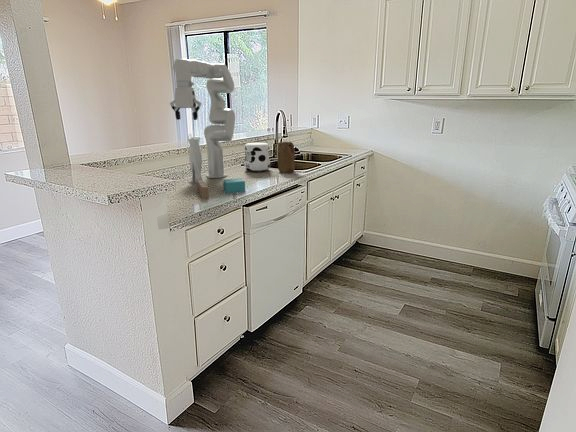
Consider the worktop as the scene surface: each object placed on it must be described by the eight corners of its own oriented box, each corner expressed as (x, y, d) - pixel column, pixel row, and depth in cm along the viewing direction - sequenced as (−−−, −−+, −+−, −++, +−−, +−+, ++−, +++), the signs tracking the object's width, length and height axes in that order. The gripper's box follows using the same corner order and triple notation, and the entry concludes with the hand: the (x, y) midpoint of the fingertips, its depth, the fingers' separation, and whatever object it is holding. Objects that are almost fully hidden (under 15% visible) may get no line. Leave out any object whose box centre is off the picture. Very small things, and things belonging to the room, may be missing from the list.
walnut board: (196, 189, 209) (196, 179, 207) (202, 189, 210) (201, 178, 208) (202, 198, 191) (201, 187, 189) (208, 198, 192) (208, 186, 190)
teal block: (223, 190, 208) (222, 179, 206) (241, 188, 211) (240, 178, 209) (226, 193, 201) (226, 182, 199) (245, 192, 204) (244, 181, 202)
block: (276, 172, 251) (276, 142, 245) (281, 170, 258) (280, 140, 252) (292, 173, 248) (292, 142, 241) (296, 171, 254) (296, 141, 248)
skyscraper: (187, 182, 226) (183, 134, 217) (199, 180, 231) (196, 133, 222) (193, 184, 220) (189, 135, 211) (206, 182, 225) (202, 134, 216)
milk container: (271, 168, 265) (271, 142, 259) (268, 173, 249) (267, 145, 243) (247, 168, 267) (246, 142, 261) (242, 173, 250) (241, 145, 244)
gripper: (202, 85, 195) (205, 119, 200) (172, 85, 199) (175, 118, 204) (196, 84, 188) (198, 120, 194) (164, 85, 192) (168, 119, 197)
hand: (186, 119), depth 199 cm, fingers open, 9 cm apart
